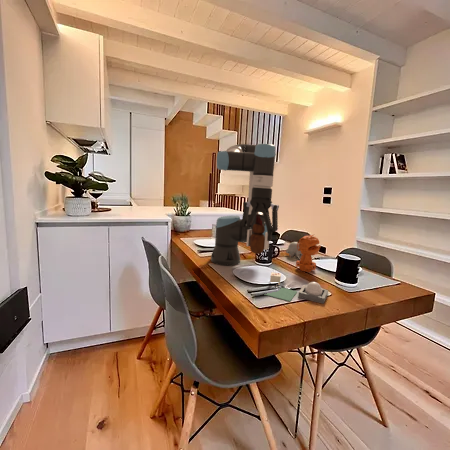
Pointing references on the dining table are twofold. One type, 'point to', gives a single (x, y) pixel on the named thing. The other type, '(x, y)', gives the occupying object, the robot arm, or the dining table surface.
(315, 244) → the toy dinosaur
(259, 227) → the wooden figurine
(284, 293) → the mat
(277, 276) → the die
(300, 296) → the button housing
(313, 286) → the dome
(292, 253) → the toy rhinoceros
